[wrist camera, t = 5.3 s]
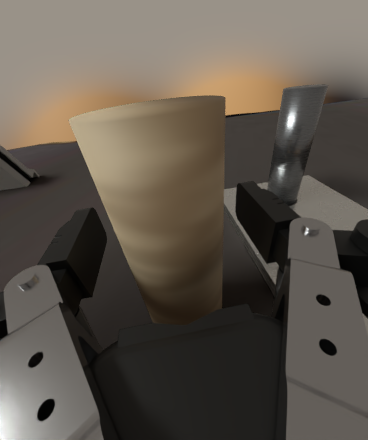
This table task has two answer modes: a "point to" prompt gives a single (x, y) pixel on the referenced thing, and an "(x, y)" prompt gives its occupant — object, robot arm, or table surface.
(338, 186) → the table surface
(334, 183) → the table surface
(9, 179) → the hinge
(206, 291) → the oak post
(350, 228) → the bolt plate
